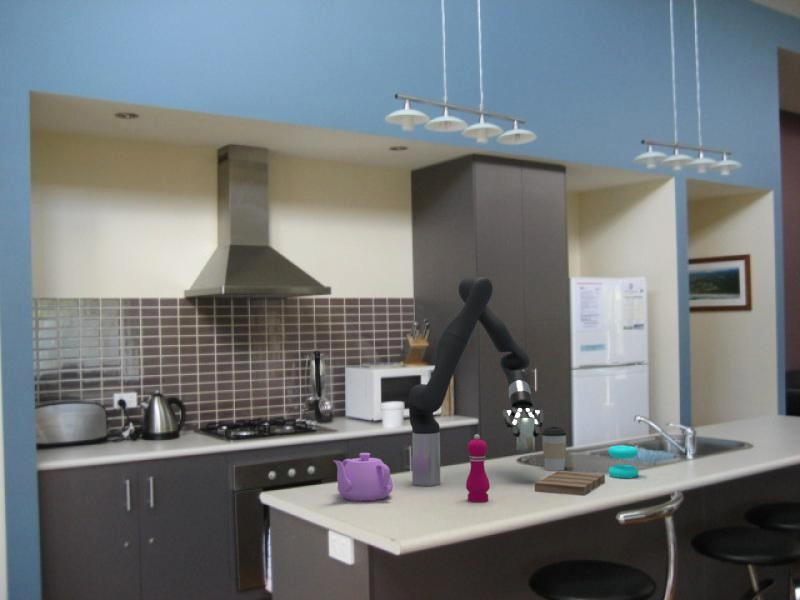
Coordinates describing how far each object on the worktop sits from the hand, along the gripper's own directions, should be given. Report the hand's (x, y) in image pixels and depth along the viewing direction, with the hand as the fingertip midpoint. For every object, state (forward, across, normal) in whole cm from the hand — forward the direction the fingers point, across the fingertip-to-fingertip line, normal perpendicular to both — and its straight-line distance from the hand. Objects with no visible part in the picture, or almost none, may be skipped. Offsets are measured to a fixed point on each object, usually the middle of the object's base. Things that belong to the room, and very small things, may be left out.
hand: (526, 435), depth 286 cm
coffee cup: (-8, +15, +30) cm, 34 cm away
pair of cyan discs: (+4, +35, +18) cm, 40 cm away
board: (+15, +13, +7) cm, 21 cm away
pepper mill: (+29, -19, -5) cm, 35 cm away
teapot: (+25, -55, -1) cm, 61 cm away
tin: (+2, 0, +5) cm, 5 cm away
